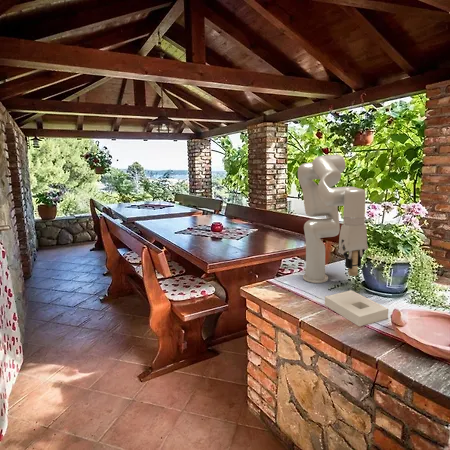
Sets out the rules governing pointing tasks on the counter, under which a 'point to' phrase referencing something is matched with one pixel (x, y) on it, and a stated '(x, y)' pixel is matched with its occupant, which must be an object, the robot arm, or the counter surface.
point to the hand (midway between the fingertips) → (353, 266)
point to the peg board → (356, 308)
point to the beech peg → (354, 264)
